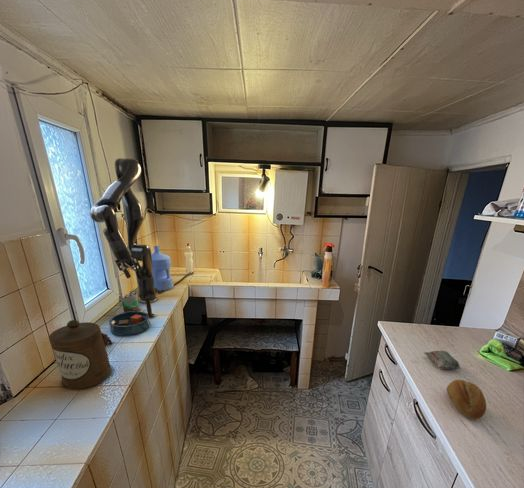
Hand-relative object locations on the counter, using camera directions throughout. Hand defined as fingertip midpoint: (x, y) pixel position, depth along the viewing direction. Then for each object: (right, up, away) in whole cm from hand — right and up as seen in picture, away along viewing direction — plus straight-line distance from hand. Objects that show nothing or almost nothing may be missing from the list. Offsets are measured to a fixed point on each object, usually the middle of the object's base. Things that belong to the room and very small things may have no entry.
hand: (134, 277), depth 146 cm
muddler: (+7, -20, +3) cm, 22 cm away
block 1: (+1, -26, -12) cm, 29 cm away
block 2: (+5, -24, -7) cm, 25 cm away
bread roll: (+132, -50, -54) cm, 151 cm away
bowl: (+2, -26, -9) cm, 27 cm away
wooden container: (+4, -42, -44) cm, 61 cm away
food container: (-4, -17, +9) cm, 20 cm away
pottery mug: (-3, -34, -27) cm, 43 cm away
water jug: (-2, 0, +46) cm, 46 cm away
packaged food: (+138, -40, -32) cm, 148 cm away
